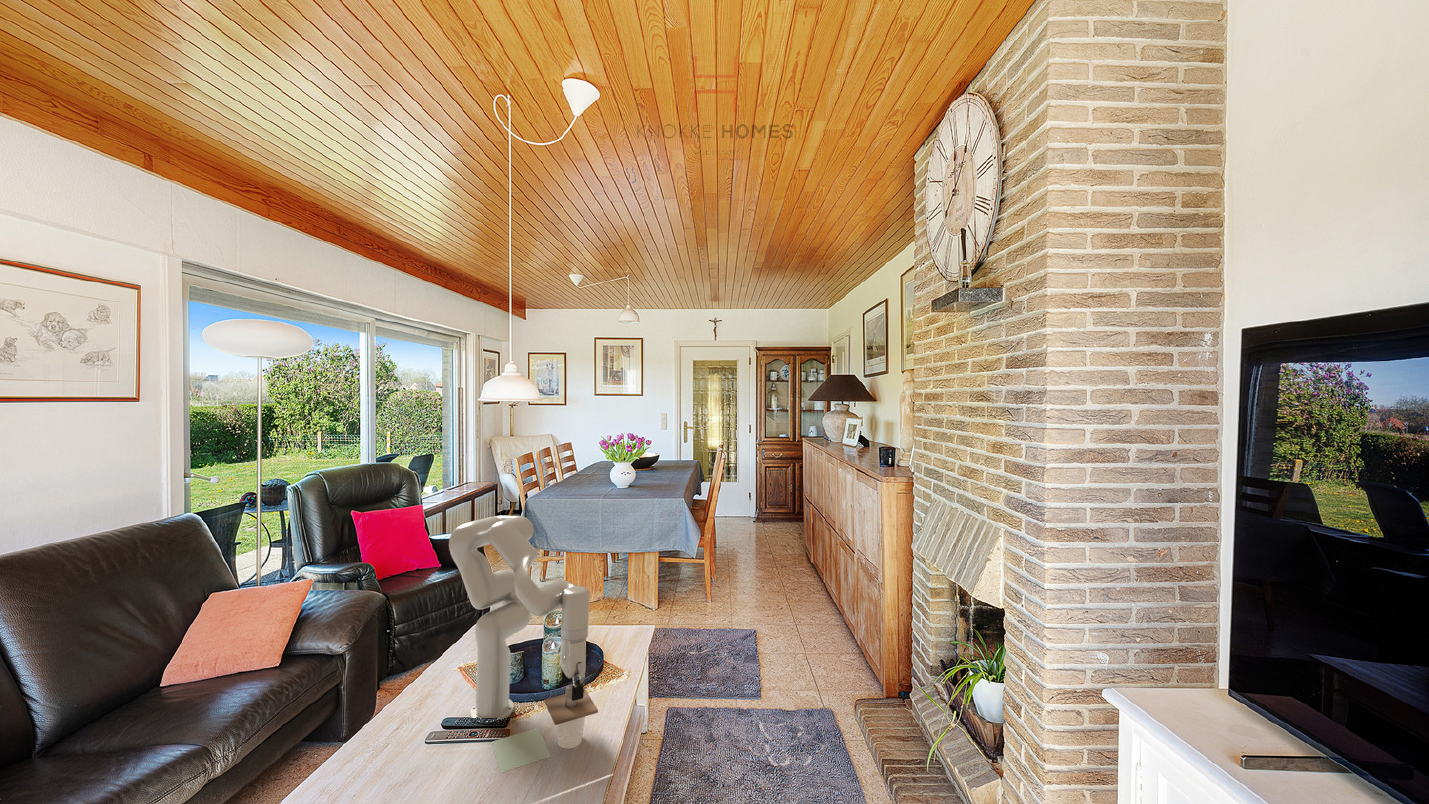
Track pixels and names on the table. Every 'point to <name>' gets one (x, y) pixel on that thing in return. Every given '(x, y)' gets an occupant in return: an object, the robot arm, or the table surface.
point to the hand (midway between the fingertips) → (572, 690)
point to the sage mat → (520, 750)
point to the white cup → (570, 733)
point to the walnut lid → (569, 707)
